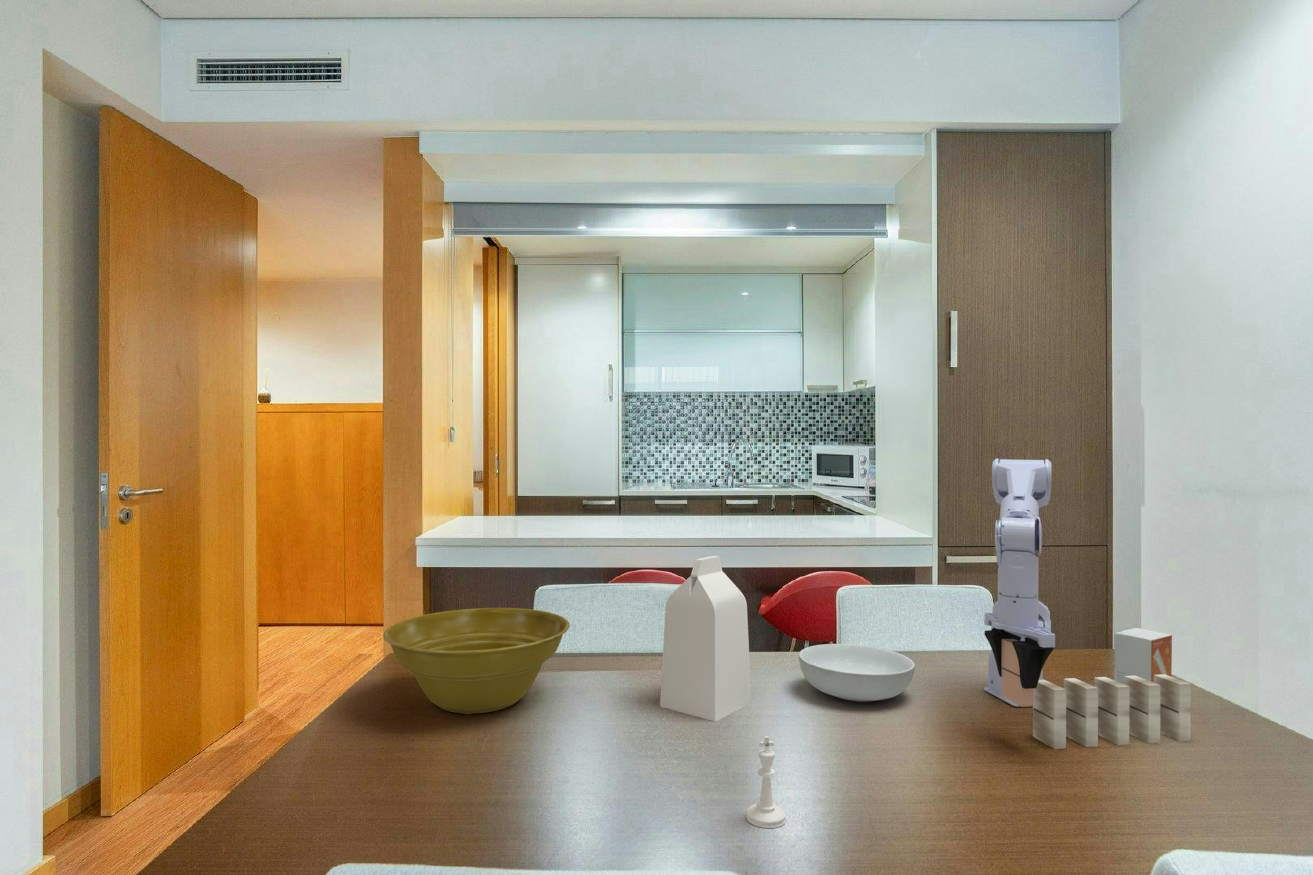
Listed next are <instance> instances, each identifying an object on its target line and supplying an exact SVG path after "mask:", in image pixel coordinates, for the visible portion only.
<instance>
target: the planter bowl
mask: <svg viewBox="0 0 1313 875" xmlns="http://www.w3.org/2000/svg"><path fill="white" fill-rule="evenodd" d="M570 625H571V624H570V621H569V620H567V618H565V617H564V616H561V615H559V614H556V613H552V612H549V611H546V610H539V609H531V608H518V607H478V608H477V607H476V608H464V609H463V608H462V609H456V610H455V609H453V610H446V611H445V610H444V611H439V612H434V613H433V612H432V613H427V614H423V615H419V616H415V617H411V618H408V619H406V620H402V621H399V622H396V623H395V624H393V625H391V626H389V627H388V628H387V629H386V630H385V631H384V632H383V635H382V636H383V639H384V641H386V642H387V643H388V644H389V645H390V646H391V649H392V653H393V654H394V656H395V658H396V660H397V662H398V663H399V664H400V665H401V666H402V667H403V668H405V669H408V670H409V671H410V672H412V673H413V675H414V677H415V679H416V682H417V683H418V685H419V686H420V688H421V690H422V691H423V693H424V695H425V696H426V697H427V699H428V700H429V701H430V702H431V703H433V705H436V706H437V707H439V708H440V709H442V710H443V711H448V712H450V713H454V714H455V713H456V714H471V715H472V714H484V713H490V712H496V711H499V710H502V709H507V708H508V707H509V708H510V707H511V706H512V705H514V704H515V703H517V702H518V701H520V699H522V698H524V696H525V695H527V694H528V692H529V690H530V689H531V687H532V686H533V684H534V683H535V680H536V679H537V677H538V674H539V672H540V670H541V668H542V665H543V664H544V663H545V662H546V661H547V660H549V659H550V658H551V657H553V656H554V655H555V653H556V652H557V650H558V648H559V645H560V643H561V640H562V639H563V635H564V634H565V633H567V631H568V630H569V629H570Z"/></svg>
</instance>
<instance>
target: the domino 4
mask: <svg viewBox="0 0 1313 875" xmlns="http://www.w3.org/2000/svg"><path fill="white" fill-rule="evenodd" d="M1124 685H1127V686H1129V735H1131V736H1133V737H1135V738H1136V739H1139V740H1141V741H1143V742H1145V743H1147V744H1158V743H1159V744H1160V743H1161V733H1160V685H1158V684H1156V683H1153V682H1151V681H1148V680H1145V679H1143V678H1140V677H1137V676H1124Z"/></svg>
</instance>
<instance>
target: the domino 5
mask: <svg viewBox="0 0 1313 875" xmlns="http://www.w3.org/2000/svg"><path fill="white" fill-rule="evenodd" d="M1154 683H1156V684H1158V685H1160V734H1162V735H1165V736H1166V737H1169V738H1171V739H1173V740H1176V741H1177V740H1178V742H1190V741H1192V740H1191V738H1192V735H1191V732H1192V731H1191V730H1192V729H1191V728H1192V727H1191V716H1192V714H1191V713H1192V712H1191V711H1192V709H1191V706H1192V705H1191V702H1192V700H1191V698H1192V696H1191V695H1192V692H1191V691H1192V689H1191V688H1192V687H1191V683H1190V682H1187V681H1184V680H1181V679H1179V678H1175V677H1173V676H1172V675H1171V676H1168V675H1165V674H1160V675H1154Z"/></svg>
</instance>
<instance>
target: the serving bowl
mask: <svg viewBox="0 0 1313 875" xmlns="http://www.w3.org/2000/svg"><path fill="white" fill-rule="evenodd" d="M798 660H799V661H798V662H799V666H800V670H801V673H802V674H803V676H804V678H805V680H806V681H807V682H808V684H809V683H810V685H811V686H812V687H814V688H815V689H817V690H818V691H820V692H822V693H825V694H826V695H830V696H832V697H836V698H838V699H840V700H845V701H848V702H849V701H850V702H858V703H864V702H865V703H869V702H874V701H882V700H889V699H891V698H894V697H896V696H898V695H900V694H901V693H903V692H904V691H905V690H906V689H907V688H908V687H909V685H911V684H910V683H911V682H912V681H913V677H914V674H915V668H916V665H915V662H914V660H912V659H910V657H907V655H904V654H901V653H899V652H896V651H893V650H889V649H885V648H879V647H875V646H869V645H863V644H861V645H860V644H852V643H850V644H849V643H826V644H817V645H811V646H807V647H806V648H803V649H801V650H800V651H799V653H798Z"/></svg>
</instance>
